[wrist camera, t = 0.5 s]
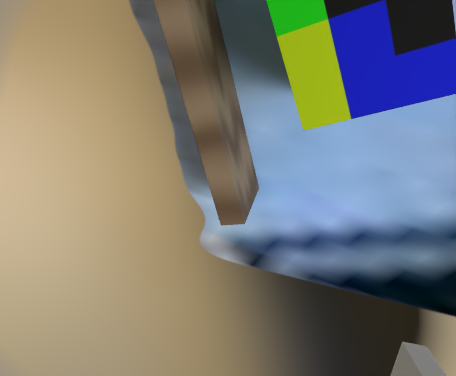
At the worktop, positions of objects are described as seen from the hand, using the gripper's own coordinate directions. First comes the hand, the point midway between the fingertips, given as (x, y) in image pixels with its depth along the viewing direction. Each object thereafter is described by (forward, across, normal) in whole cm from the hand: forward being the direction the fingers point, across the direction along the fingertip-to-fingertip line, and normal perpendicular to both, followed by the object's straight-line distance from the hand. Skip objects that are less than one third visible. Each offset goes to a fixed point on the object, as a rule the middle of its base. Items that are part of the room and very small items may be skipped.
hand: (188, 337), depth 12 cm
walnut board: (+28, -4, +11) cm, 30 cm away
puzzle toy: (+25, +8, +15) cm, 30 cm away
